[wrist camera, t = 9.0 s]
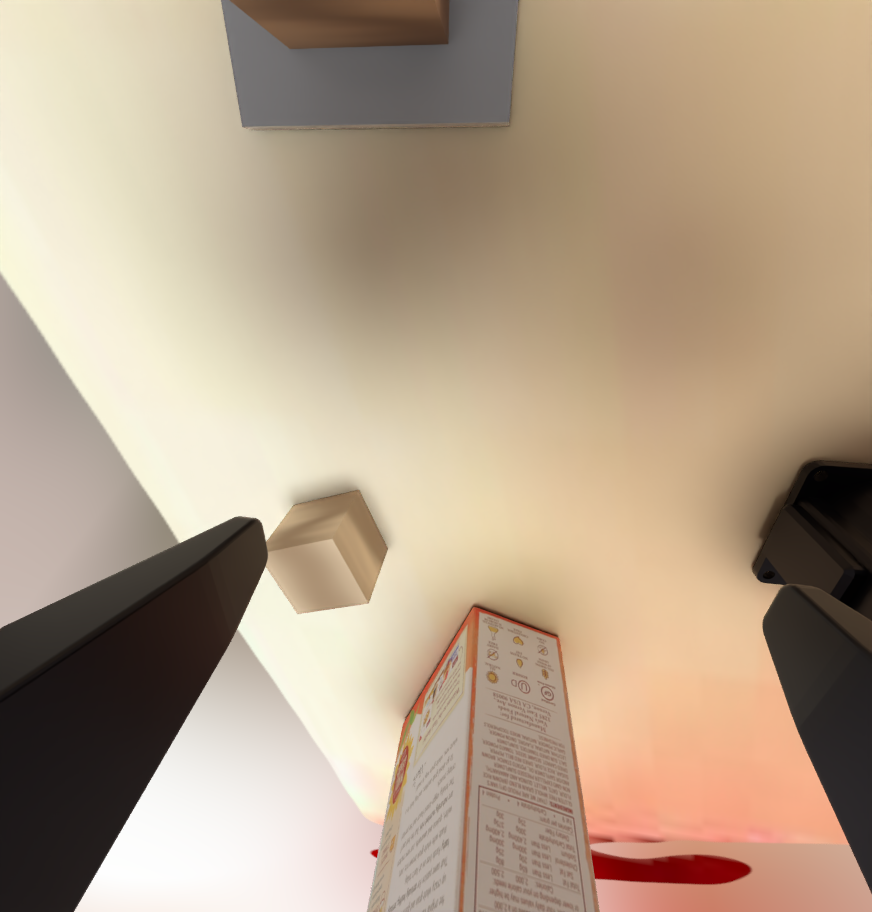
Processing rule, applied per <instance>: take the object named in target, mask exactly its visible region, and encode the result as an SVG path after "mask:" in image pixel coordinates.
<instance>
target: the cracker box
mask: <svg viewBox="0 0 872 912" xmlns="http://www.w3.org/2000/svg"><path fill="white" fill-rule="evenodd" d="M367 912H600V911H599V905H598V898H597V891H596V884H595V878H594V871H593V864H592V857H591V850H590V843H589V837H588V830H587V823H586V816H585V809H584V802H583V796H582V789H581V782H580V775H579V768H578V762H577V755H576V748H575V741H574V735H573V728H572V721H571V714H570V707H569V700H568V693H567V688H566V682H565V673H564V667H563V661H562V652H561V647H560V641H559V638H558V637H556V636H553V635H550V634H548V633H545V632H542V631H539V630H536V629H534V628H531V627H528V626H526V625H523V624H520V623H517V622H514V621H512V620H509V619H507V618H504V617H501V616H499V615H496V614H493V613H490V612H488V611H485V610H482V609H479V608H476V607H473V608H472V610H471V611H470V613H469V615H468V616H467V618H466V620H465V621H464V623H463V625H462V627H461V628H460V630H459V631H458V633H457V635H456V636H455V638H454V640H453V641H452V643H451V645H450V646H449V648H448V650H447V651H446V653H445V655H444V657H443V658H442V660H441V662H440V663H439V665H438V667H437V668H436V670H435V672H434V673H433V675H432V677H431V678H430V680H429V681H428V683H427V685H426V686H425V688H424V690H423V692H422V693H421V695H420V697H419V698H418V700H417V702H416V703H415V705H414V707H413V708H412V710H411V712H410V713H409V715H408V717H407V718H406V720H405V722H404V724H403V727H402V732H401V737H400V742H399V747H398V752H397V757H396V762H395V768H394V773H393V778H392V783H391V788H390V793H389V799H388V804H387V809H386V814H385V820H384V825H383V830H382V836H381V841H380V846H379V851H378V856H377V862H376V867H375V872H374V878H373V883H372V888H371V894H370V898H369V904H368V909H367Z"/></svg>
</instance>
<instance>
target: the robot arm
mask: <svg viewBox="0 0 872 912" xmlns="http://www.w3.org/2000/svg"><path fill="white" fill-rule="evenodd" d="M819 471H822V472H821V473H820V474H819V475H817V476H814V475H815V474H816V473H817V472H819ZM267 560H268V549H267V545H266V540H265V535H264V531H263V526H262V523H261V522H260V520H258V519H256V518H250V517H242V516H239V517H235V518H232V519H230V520H228V521H226V522H224V523H222V524H220V525H218V526H215V527H213V528H211V529H209V530H207V531H205V532H203V533H201V534H199V535H196V536H194V537H192V538H190V539H188V540H186V541H184V542H182V543H179V544H177V545H175V546H173V547H171V548H169V549H167V550H165V551H163V552H160V553H159V554H156V555H154V556H152V557H150V558H148V559H146V560H143V561H141V562H139V563H137V564H135V565H133V566H131V567H129V568H127V569H124V570H122V571H120V572H118V573H116V574H114V575H112V576H110V577H108V578H105V579H103V580H101V581H99V582H97V583H95V584H93V585H91V586H89V587H87V588H84V589H82V590H80V591H78V592H76V593H74V594H72V595H69V596H67V597H65V598H63V599H61V600H59V601H57V602H55V603H52V604H50V605H48V606H46V607H44V608H42V609H40V610H38V611H36V612H34V613H31V614H29V615H27V616H25V617H23V618H21V619H19V620H17V621H14V622H12V623H10V624H8V625H6V626H4V627H2V628H1V629H0V912H74V911H75V909H76V907H77V906H78V904H79V902H80V900H81V899H82V897H83V895H84V893H85V892H86V890H87V888H88V886H89V885H90V883H91V881H92V880H93V878H94V876H95V875H96V873H97V871H98V869H99V868H100V866H101V864H102V862H103V861H104V859H105V857H106V856H107V854H108V852H109V850H110V849H111V847H112V845H113V844H114V842H115V840H116V838H117V837H118V835H119V833H120V831H121V830H122V828H123V826H124V825H125V823H126V821H127V820H128V818H129V816H130V814H131V813H132V811H133V809H134V807H135V806H136V804H137V802H138V800H139V799H140V797H141V795H142V794H143V792H144V790H145V789H146V787H147V785H148V783H149V782H150V780H151V778H152V777H153V775H154V773H155V771H156V770H157V768H158V766H159V765H160V763H161V761H162V759H163V757H164V756H165V754H166V753H167V751H168V749H169V747H170V746H171V744H172V742H173V740H174V739H175V737H176V735H177V734H178V732H179V730H180V728H181V727H182V725H183V723H184V722H185V720H186V718H187V716H188V715H189V713H190V711H191V710H192V708H193V706H194V704H195V703H196V701H197V699H198V697H199V696H200V694H201V692H202V690H203V689H204V687H205V685H206V683H207V682H208V680H209V679H210V677H211V675H212V673H213V672H214V670H215V668H216V667H217V665H218V663H219V661H220V660H221V658H222V656H223V655H224V653H225V651H226V649H227V647H228V646H229V644H230V642H231V640H232V638H233V636H234V634H235V632H236V630H237V628H238V626H239V624H240V622H241V619H242V617H243V615H244V613H245V611H246V608H247V606H248V604H249V602H250V600H251V597H252V595H253V593H254V591H255V589H256V586H257V584H258V582H259V580H260V578H261V575H262V573H263V571H264V569H265V566H266V564H267ZM767 571H769V572H767ZM765 572H767V573H765ZM753 573H754V575H755V576H756V578H757V579H758V580H759V581H760V582H763V583H771V584H780V585H784V586H783V587H781V589H780V590H779V592H778V593H777V595H776V597H775V599H774V600H773V602H772V604H771V606H770V607H769V609H768V611H767V613H766V614H765V616H764V619H763V633H764V636H765V639H766V642H767V645H768V648H769V651H770V654H771V656H772V659H773V662H774V665H775V668H776V671H777V674H778V677H779V680H780V683H781V685H782V688H783V691H784V694H785V697H786V700H787V703H788V706H789V709H790V712H791V714H792V717H793V720H794V722H795V725H796V727H797V730H798V732H799V735H800V737H801V739H802V742H803V744H804V746H805V749H806V751H807V753H808V755H809V757H810V760H811V762H812V764H813V766H814V768H815V771H816V773H817V775H818V777H819V779H820V781H821V784H822V786H823V788H824V790H825V792H826V795H827V797H828V799H829V801H830V803H831V806H832V808H833V810H834V812H835V814H836V817H837V819H838V821H839V823H840V825H841V827H842V830H843V832H844V834H845V836H846V838H847V841H848V843H849V845H850V847H851V849H852V852H853V854H854V856H855V858H856V860H857V863H858V865H859V867H860V869H861V871H862V873H863V875H864V878H865V880H866V882H867V884H868V886H869V889H870V891H871V893H872V464H859V463H845V462H831V461H814V462H811V463H809V464H807V465H806V466H805V467H804V468H803V469H802V471H801V473H800V475H799V477H798V479H797V481H796V483H795V485H794V487H793V489H792V491H791V493H790V495H789V497H788V499H787V501H786V503H785V505H784V507H783V509H782V510H781V512H780V514H779V516H778V518H777V520H776V522H775V524H774V526H773V528H772V530H771V532H770V534H769V536H768V538H767V540H766V542H765V544H764V546H763V548H762V551H761V553H760V555H759V557H758V559H757V561H756V564H755V566H754V568H753Z"/></svg>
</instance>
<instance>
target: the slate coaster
mask: <svg viewBox="0 0 872 912" xmlns="http://www.w3.org/2000/svg"><path fill="white" fill-rule="evenodd" d="M518 1H519V0H449V43H448V44H439V45H407V46H374V47H341V48H309V49H289V48H288V47H287V46H285V45H284V44H283V43H282V42H281V41H279V40H278V39H277V38H276V37H274V36H273V35H272V34H271V33H269V32H268V31H267V30H266V29H264V28H263V27H262V26H261V25H259V24H258V23H257V22H256V21H254V20H253V19H252V18H251V17H249V16H248V15H247V14H246V13H244V12H243V11H242V10H241V9H239V8H238V7H237V6H236V5H234V4H233V3H232V2H231V1H229V0H221V2H222V8H223V14H224V20H225V26H226V32H227V38H228V44H229V50H230V56H231V62H232V68H233V74H234V80H235V85H236V91H237V97H238V103H239V109H240V115H241V121H242V127H245V128H247V129H250V130H287V129H352V128H417V127H481V126H509V121H510V108H511V94H512V81H513V68H514V54H515V41H516V27H517V14H518Z"/></svg>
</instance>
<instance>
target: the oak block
mask: <svg viewBox="0 0 872 912" xmlns="http://www.w3.org/2000/svg"><path fill="white" fill-rule="evenodd" d="M266 545H267V549H268V560H267V564H266V568H267V569H268V571H269V572H270V574H271V575H272V577H273V578H274V580H275V581H276V583H277V584H278V586H279V587H280V589H281V590H282V592H283V593H284V595H285V596H286V598H287V599H288V601H289V602H290V604H291V605H292V606H293V608H294V609H295V611H296V612H297V614H301V613H308V612H315V611H321V610H328V609H335V608H341V607H348V606H354V605H361V604H368V603H369V601H370V598H371V595H372V592H373V589H374V587H375V584H376V581H377V578H378V575H379V573H380V570H381V567H382V564H383V561H384V558H385V556H386V553H387V550H388V548H387V546H386V544H385V542H384V540H383V538H382V536H381V534H380V532H379V530H378V528H377V526H376V524H375V522H374V520H373V518H372V515H371V513H370V511H369V509H368V507H367V505H366V503H365V501H364V499H363V497H362V495H361V493H360V491H359V490H356V491H352V492H348V493H343V494H339V495H335V496H330V497H326V498H322V499H318V500H313V501H309V502H305V503H300V504H296V505H293V507H292V508H291V509H290V511H289V512H288V513H287V515H286V516H285V517H284V519H283V520H282V522H281V523H280V524H279V526H278V527H277V528H276V530H275V531H274V532H273V534H272V535H271V536H270V538H269V539H268V540H267V542H266Z"/></svg>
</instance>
